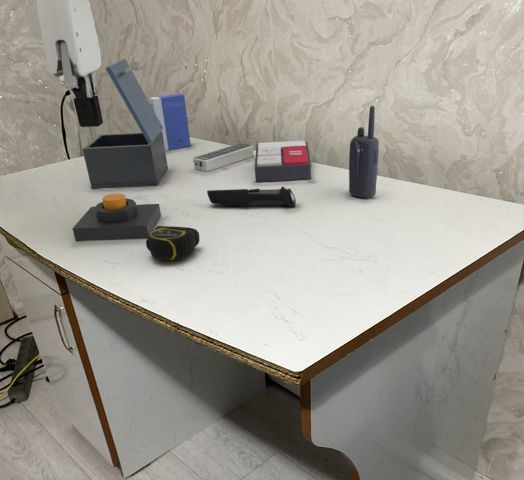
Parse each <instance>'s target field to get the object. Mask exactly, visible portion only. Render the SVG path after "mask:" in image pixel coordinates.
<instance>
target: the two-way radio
mask: <svg viewBox="0 0 524 480" xmlns="http://www.w3.org/2000/svg"><path fill="white" fill-rule="evenodd" d="M375 109H376V107H375V105H371V106H370V107H369V114H368V126H367V127H368V128H367V135H365V134H366V133H365V127H363V126H361V127H360V126H359V127H358V129H357V133H356V134H357V135H356V136H354V137H352V139H351V140H350V143H349V152H348V153H349V154H348V158H349V159H348V192H349V194H350V195H353V196H355V197H359V198H365V199H369V198H373V197H375V196H376V191H377V190H376V189H377V180H378V166H379V165H378V164H379V151H380V142H379V141H380V140H379V139H378V138H377V137H375V118H376V117H375V115H376V113H375V112H376V110H375Z"/></svg>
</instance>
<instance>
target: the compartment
mask: <svg viewBox="0 0 524 480" xmlns="http://www.w3.org/2000/svg"><path fill="white" fill-rule="evenodd" d="M81 150H82V154H83V158H84V162H85V166H86V170H87V175H88V178H89V183H90V187H91V189H110V188H111V189H112V188H133V187H135V188H136V187H156V186H159V184H160V182H161V180H162V179H163V178H164V176H165V174H166V173H167V171H168V170H169V167H168V161H167V160H168V159H167V153H166V151H165V146H164V140H163V133H162V132H160V133H159V134H158V135H157V137H156V138H155V139H154V140H153V141H152V142H151V143H149V144H148V142H147V140H146V138H145V137H144V135H143V133H142V132H127V133H126V132H125V133H124V132H123V133H107V134H106V133H105V134H104V133H103V134H98V136H96V137H95V138H93V139H92V140H91V141H90V142H89V143H88V144H86V145H85V146H84V147H83V148H82V149H81Z"/></svg>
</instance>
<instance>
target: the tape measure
mask: <svg viewBox="0 0 524 480" xmlns="http://www.w3.org/2000/svg"><path fill="white" fill-rule="evenodd" d="M145 240H146V241H145V247H146V248H147V250H148V251H149V252H150V255H151V257H153V258H154V259H156V260H160V261H161V260H162V261H178V260H181V259H184V258H187V257H189V256H190V255H192V254H193V253H194V251H195V248H196V247H197V246H198V245H199V243H200V232H199V231H198V230H197V229H196V228H193V227H185V226H174V225H173V226H168V225H167V226H166V225H156V226H155V228H154V230H153V231H151V232H150V233H149V235H148V239H145Z"/></svg>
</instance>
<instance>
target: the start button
mask: <svg viewBox="0 0 524 480" xmlns="http://www.w3.org/2000/svg"><path fill="white" fill-rule="evenodd" d="M125 198H126V196H125V194H124V193H120V192H117V193H110V194H106V195H104V196H103V197H102V198H101V200H102V202H103V205H104V209H107V210H113V209H119V208H123V207H125V206H127V205H126V200H125Z"/></svg>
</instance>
